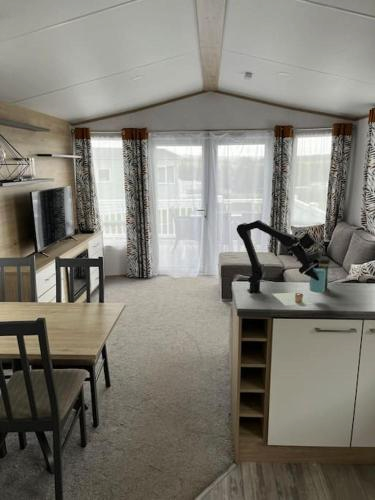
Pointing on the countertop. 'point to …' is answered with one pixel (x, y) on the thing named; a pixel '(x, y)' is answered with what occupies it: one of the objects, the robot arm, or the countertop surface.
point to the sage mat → (289, 299)
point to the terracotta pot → (298, 297)
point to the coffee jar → (324, 267)
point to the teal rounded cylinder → (320, 284)
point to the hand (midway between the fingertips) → (320, 278)
